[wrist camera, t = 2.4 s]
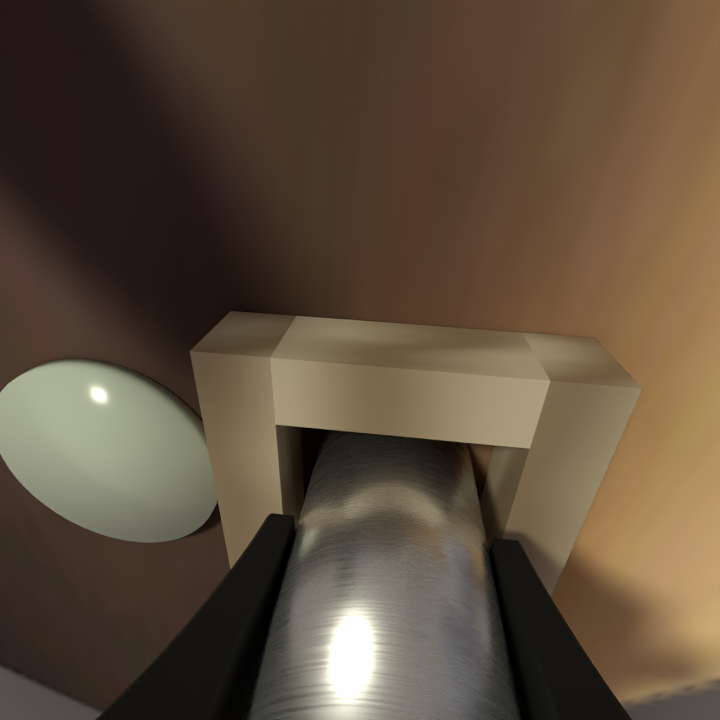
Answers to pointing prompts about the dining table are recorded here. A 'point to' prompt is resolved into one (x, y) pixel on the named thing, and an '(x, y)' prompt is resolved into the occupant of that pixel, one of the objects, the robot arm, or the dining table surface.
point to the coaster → (108, 450)
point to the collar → (413, 415)
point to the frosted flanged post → (386, 593)
